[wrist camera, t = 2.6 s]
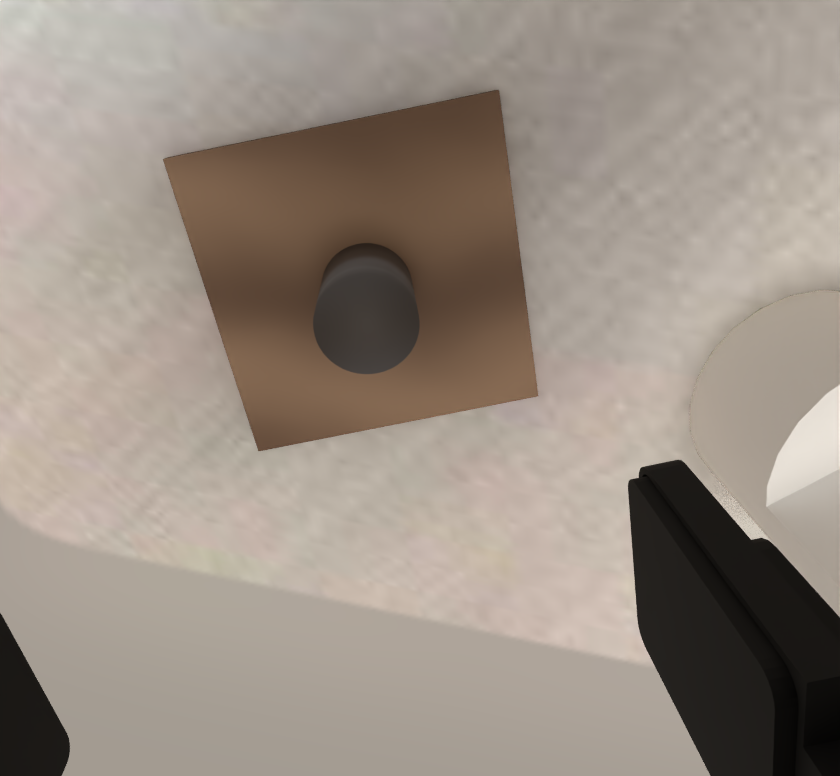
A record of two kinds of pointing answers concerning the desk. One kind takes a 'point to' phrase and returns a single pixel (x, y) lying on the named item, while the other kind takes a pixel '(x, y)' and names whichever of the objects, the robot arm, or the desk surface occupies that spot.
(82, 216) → the desk surface
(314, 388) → the lid
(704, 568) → the robot arm
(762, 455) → the white cylindrical piece
